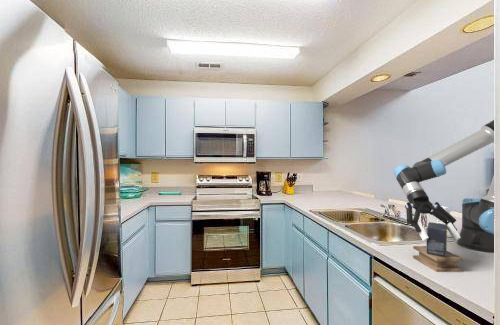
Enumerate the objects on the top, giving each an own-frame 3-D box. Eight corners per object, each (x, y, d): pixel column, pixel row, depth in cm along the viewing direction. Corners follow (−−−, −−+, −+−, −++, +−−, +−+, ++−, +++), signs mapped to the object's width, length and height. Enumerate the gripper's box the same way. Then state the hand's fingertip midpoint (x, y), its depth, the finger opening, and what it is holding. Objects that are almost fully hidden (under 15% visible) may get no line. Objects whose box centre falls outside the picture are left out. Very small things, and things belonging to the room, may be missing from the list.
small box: (427, 245, 106) (428, 221, 106) (446, 249, 102) (447, 224, 102) (425, 253, 98) (426, 226, 97) (446, 257, 94) (447, 230, 93)
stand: (436, 257, 106) (436, 245, 106) (462, 271, 93) (462, 258, 93) (413, 257, 106) (413, 246, 106) (436, 271, 93) (436, 258, 93)
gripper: (437, 199, 115) (466, 243, 100) (385, 199, 114) (406, 243, 99) (446, 189, 109) (478, 234, 94) (392, 189, 109) (416, 234, 94)
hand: (441, 239), depth 97 cm, fingers open, 12 cm apart
